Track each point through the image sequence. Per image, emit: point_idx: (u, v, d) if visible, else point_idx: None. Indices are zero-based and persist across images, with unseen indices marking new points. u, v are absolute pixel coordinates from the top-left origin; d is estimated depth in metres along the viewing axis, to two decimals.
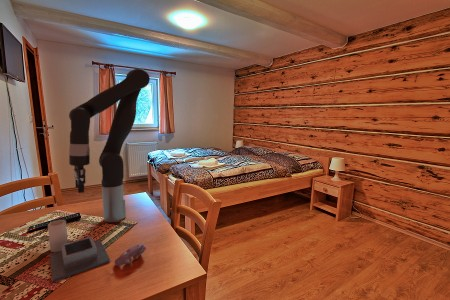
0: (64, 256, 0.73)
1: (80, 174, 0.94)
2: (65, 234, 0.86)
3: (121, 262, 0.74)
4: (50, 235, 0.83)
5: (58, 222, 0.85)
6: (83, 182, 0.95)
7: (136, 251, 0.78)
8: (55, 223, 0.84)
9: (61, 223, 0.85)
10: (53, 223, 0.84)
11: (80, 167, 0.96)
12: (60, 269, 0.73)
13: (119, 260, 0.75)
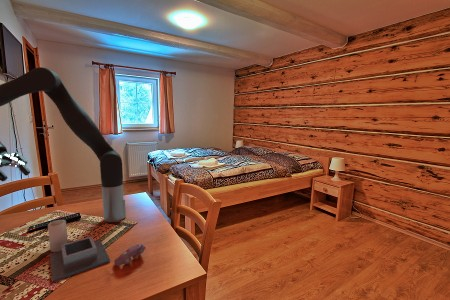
0: (64, 256, 0.73)
1: None
2: (65, 234, 0.86)
3: (121, 262, 0.74)
4: (50, 235, 0.83)
5: (58, 222, 0.85)
6: None
7: (136, 251, 0.78)
8: (55, 223, 0.84)
9: (61, 223, 0.85)
10: (53, 223, 0.84)
11: None
12: (60, 269, 0.73)
13: (119, 260, 0.75)
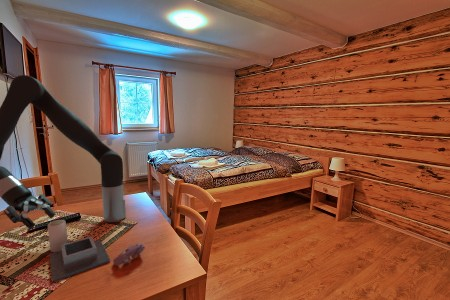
0: (64, 256, 0.73)
1: (7, 214, 0.78)
2: (65, 234, 0.86)
3: (120, 261, 0.75)
4: (50, 235, 0.83)
5: (58, 222, 0.85)
6: (15, 219, 0.78)
7: (135, 250, 0.79)
8: (55, 223, 0.84)
9: (61, 223, 0.84)
10: (53, 223, 0.84)
11: (12, 205, 0.81)
12: (60, 269, 0.73)
13: (118, 259, 0.75)
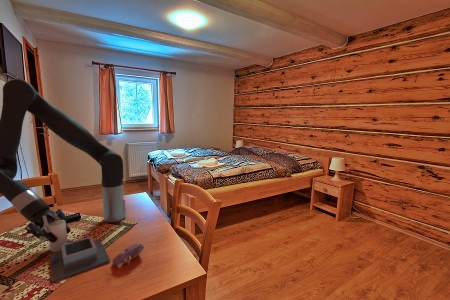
0: (64, 256, 0.73)
1: (29, 230, 0.79)
2: (65, 234, 0.86)
3: (119, 261, 0.75)
4: None
5: (58, 222, 0.85)
6: (39, 234, 0.79)
7: (134, 250, 0.79)
8: (55, 223, 0.84)
9: (61, 223, 0.84)
10: (53, 223, 0.84)
11: (31, 219, 0.81)
12: (60, 269, 0.73)
13: (117, 259, 0.75)
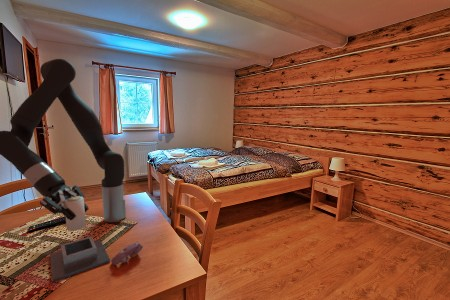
0: (64, 256, 0.73)
1: (45, 205, 0.70)
2: (83, 212, 0.77)
3: (118, 260, 0.75)
4: None
5: (75, 198, 0.77)
6: (56, 209, 0.71)
7: (133, 250, 0.79)
8: (72, 199, 0.76)
9: (79, 199, 0.76)
10: (70, 199, 0.76)
11: (46, 194, 0.73)
12: (60, 269, 0.73)
13: (116, 259, 0.75)
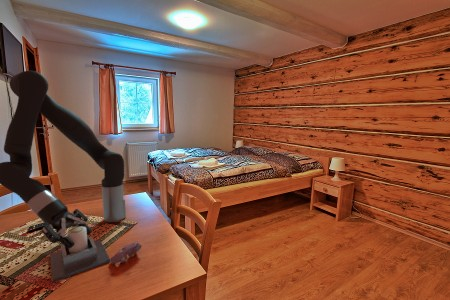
0: (64, 256, 0.73)
1: (45, 233, 0.71)
2: (85, 242, 0.79)
3: (117, 260, 0.75)
4: None
5: (78, 229, 0.78)
6: (54, 239, 0.71)
7: (132, 249, 0.79)
8: (75, 230, 0.77)
9: (81, 230, 0.78)
10: (73, 230, 0.77)
11: (49, 222, 0.74)
12: (60, 269, 0.73)
13: (115, 258, 0.76)
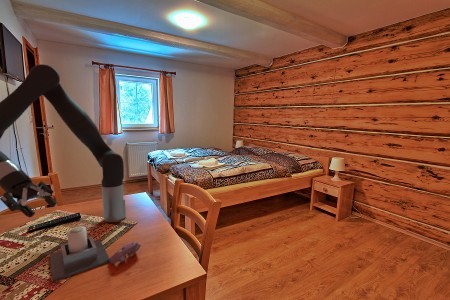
0: (64, 256, 0.73)
1: (4, 201, 0.71)
2: (85, 242, 0.79)
3: (116, 259, 0.75)
4: (70, 243, 0.76)
5: (78, 229, 0.78)
6: (13, 207, 0.71)
7: (131, 249, 0.79)
8: (75, 230, 0.77)
9: (81, 230, 0.78)
10: (73, 230, 0.77)
11: (9, 191, 0.74)
12: (60, 269, 0.73)
13: (114, 258, 0.76)
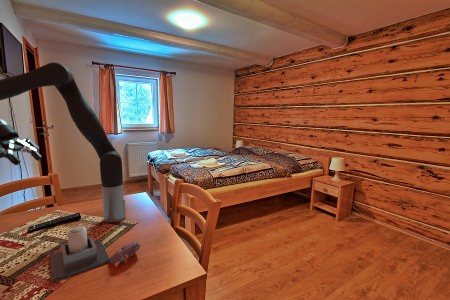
0: (64, 256, 0.73)
1: None
2: (85, 242, 0.79)
3: (116, 259, 0.75)
4: (70, 243, 0.76)
5: (78, 229, 0.78)
6: (0, 153, 0.79)
7: (131, 249, 0.79)
8: (75, 230, 0.78)
9: (81, 230, 0.78)
10: (73, 230, 0.77)
11: None
12: (60, 269, 0.73)
13: (114, 258, 0.76)
